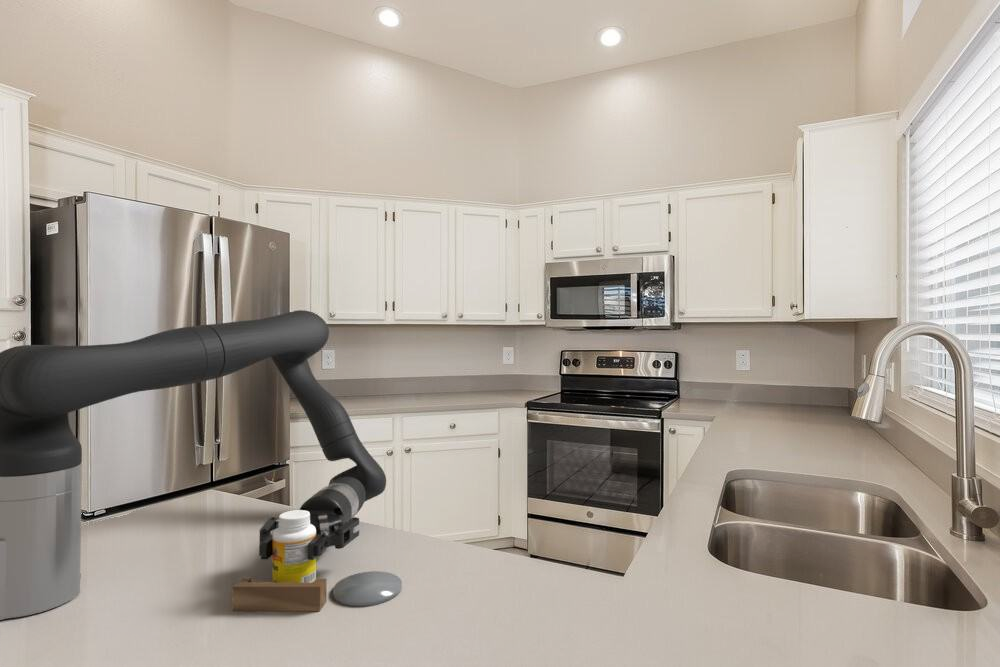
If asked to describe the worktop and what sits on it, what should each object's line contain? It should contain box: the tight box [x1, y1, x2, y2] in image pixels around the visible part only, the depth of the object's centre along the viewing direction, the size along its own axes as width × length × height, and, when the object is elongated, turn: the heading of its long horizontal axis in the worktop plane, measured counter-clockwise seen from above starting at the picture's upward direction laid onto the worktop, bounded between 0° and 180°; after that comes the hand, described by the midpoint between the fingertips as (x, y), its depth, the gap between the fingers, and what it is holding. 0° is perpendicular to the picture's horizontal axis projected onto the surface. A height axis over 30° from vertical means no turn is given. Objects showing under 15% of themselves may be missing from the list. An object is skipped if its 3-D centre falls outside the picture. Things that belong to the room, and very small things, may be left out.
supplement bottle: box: [271, 509, 317, 583], centre depth 72 cm, size 6×6×10 cm
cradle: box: [232, 577, 328, 612], centre depth 68 cm, size 2×11×3 cm, turn 89°
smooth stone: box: [332, 570, 403, 608], centre depth 72 cm, size 9×9×1 cm
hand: (287, 552), depth 70 cm, fingers closed on supplement bottle, 5 cm apart
